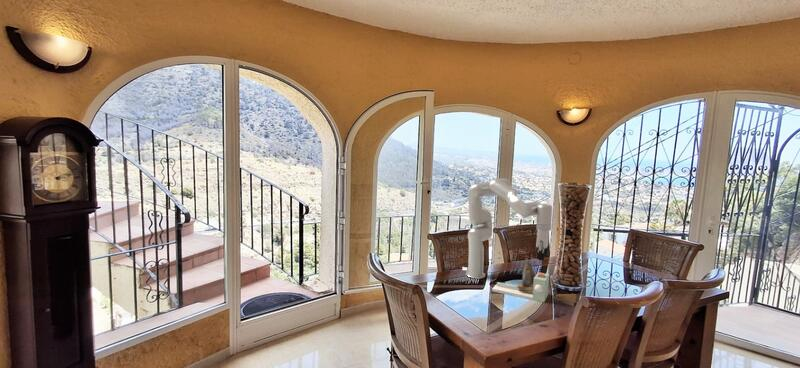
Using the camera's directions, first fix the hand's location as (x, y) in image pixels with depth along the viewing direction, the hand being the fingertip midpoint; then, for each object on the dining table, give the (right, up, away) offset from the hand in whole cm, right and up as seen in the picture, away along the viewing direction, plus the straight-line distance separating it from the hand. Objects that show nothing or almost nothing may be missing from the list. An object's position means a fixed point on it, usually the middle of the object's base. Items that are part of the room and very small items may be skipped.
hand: (542, 257), depth 209 cm
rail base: (-12, -21, +10) cm, 26 cm away
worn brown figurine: (+1, -20, +23) cm, 31 cm away
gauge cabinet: (0, -22, +2) cm, 23 cm away
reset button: (0, -12, +1) cm, 12 cm away
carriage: (-7, -20, +6) cm, 22 cm away
